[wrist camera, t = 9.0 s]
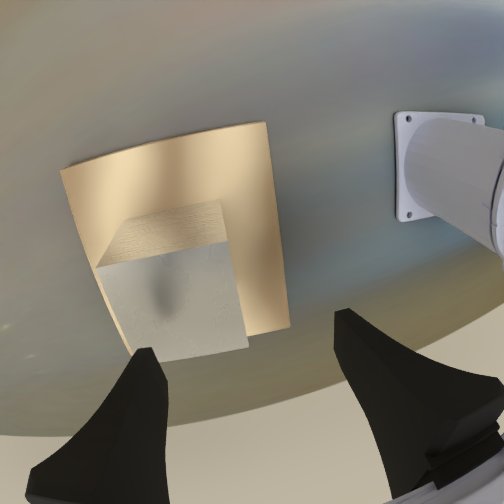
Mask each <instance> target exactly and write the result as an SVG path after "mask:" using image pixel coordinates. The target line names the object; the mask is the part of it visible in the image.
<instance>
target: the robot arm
mask: <svg viewBox="0 0 504 504" xmlns="http://www.w3.org/2000/svg"><path fill="white" fill-rule="evenodd" d="M406 116H408V121H406ZM472 119H473V122H472ZM394 122H395V139H396V170H397V201H396V218H397V220H399V221H400V222H407V221H412V220H417V219H422V218H427V217H432V216H437V217H439V218H441V219H442V220H444V221H446V222H448V223H449V224H451V225H452V226H454V227H456V228H457V229H459V230H461V231H462V232H464V233H465V234H467V235H469V236H470V237H472V238H473V239H475V240H477V241H478V242H480V243H481V244H483V245H484V246H486V247H487V248H489V249H490V250H492V251H493V252H495V253H496V254H498V255H499V256H500V257H501V258H502V262H503V270H504V130H501V129H496V128H492V127H487V126H485V120H484V117H483V116H482V115H478V114H465V113H448V112H416V111H399V112H397V113H396V114H395V116H394ZM408 212H409V215H408V216H407V213H408ZM334 351H335V354H336V357H337V359H338V362H339V364H340V367H341V370H342V372H343V373H344V375H345V377H346V379H347V381H348V383H349V385H350V386H351V388H352V390H353V392H354V394H355V396H356V398H357V399H358V401H359V403H360V405H361V407H362V409H363V411H364V413H365V415H366V417H367V419H368V421H369V425H370V427H371V430H372V432H373V435H374V438H375V441H376V443H377V446H378V449H379V452H380V455H381V458H382V462H383V465H384V468H385V472H386V475H387V479H388V482H389V487H390V490H391V495H392V499H393V500H391V501H389V502H386V503H384V504H503V503H504V433H503V434H502V435H501V436H500V435H499V433H498V430H499V428H500V426H499V424H498V423H497V421H496V420H497V419H498V417H499V416H500V415H501V413H502V412H503V410H504V385H503V384H502V383H501V382H500V380H499V379H498V378H496V377H490V376H484V375H479V374H474V373H470V372H466V371H462V370H459V369H456V368H452V367H449V366H447V365H444V364H441V363H439V362H436V361H434V360H431V359H429V358H427V357H425V356H423V355H421V354H419V353H416V352H414V351H413V350H411V349H409V348H407V347H405V346H404V345H402V344H400V343H399V342H397V341H395V340H394V339H392V338H390V337H389V336H387V335H386V334H384V333H383V332H381V331H380V330H379V329H377V328H376V327H374V326H373V325H372V324H370V323H369V322H367V321H366V320H365V319H363V318H362V317H361V316H359V315H358V314H357V313H355V312H354V311H352V310H351V309H350V308H347V309H343V310H339V311H335V318H334ZM168 404H169V402H168V381H167V379H166V377H165V375H164V373H163V371H162V368H161V366H160V364H159V362H158V360H157V358H156V355H155V353H154V351H153V349H152V347H146V348H139V349H137V350H136V352H135V353H134V355H133V356H132V358H131V360H130V361H129V363H128V364H127V366H126V368H125V369H124V371H123V373H122V374H121V376H120V377H119V379H118V381H117V382H116V384H115V385H114V387H113V389H112V390H111V392H110V393H109V394H108V396H107V397H106V399H105V400H104V402H103V403H102V404H101V406H100V407H99V408H98V410H97V411H96V412H95V413H94V415H93V416H92V417H91V418H90V419H89V421H88V422H87V423H86V424H85V425H84V426H83V427H82V428H81V429H80V430H79V431H78V432H77V433H76V434H75V435H74V436H73V437H72V438H71V439H70V440H69V441H68V442H67V443H66V444H65V445H63V446H62V447H61V448H60V449H59V450H58V451H56V452H55V453H54V454H53V455H51V456H50V457H49V458H47V459H46V460H44V461H43V462H41V463H40V464H38V465H37V466H35V467H33V468H32V469H31V471H30V475H29V479H28V484H27V488H26V493H25V497H26V499H27V501H28V502H30V503H31V504H170V502H169V494H168V486H167V477H166V463H165V446H166V431H167V418H168Z"/></svg>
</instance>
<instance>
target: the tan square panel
mask: <svg viewBox="0 0 504 504" xmlns="http://www.w3.org/2000/svg"><path fill="white" fill-rule="evenodd" d="M60 172H61V176H62V180H63V183H64V187H65V191H66V194H67V197H68V201H69V204H70V207H71V211H72V214H73V217H74V220H75V223H76V226H77V229H78V232H79V235H80V238H81V241H82V244H83V247H84V249H85V252H86V255H87V258H88V260H89V263H90V265H91V268H92V271H93V273H94V276H95V278H96V281H97V283H98V286H99V288H100V290H101V293H102V295H103V298H104V300H105V302H106V305H107V307H108V309H109V311H110V314H111V316H112V318H113V320H114V322H115V324H116V327H117V329H118V331H119V333H120V335H121V337H122V339H123V341H124V343H125V345H126V347H127V349H128V351H129V353H130V355H131V356H133V355H134V354H133V352H132V350H131V348H130V346H129V344H128V342H127V340H126V338H125V336H124V334H123V332H122V330H121V327H120V325H119V323H118V321H117V319H116V316H115V314H114V312H113V310H112V307H111V305H110V303H109V300H108V298H107V296H106V293H105V291H104V288H103V286H102V284H101V281H100V279H99V276H98V273H97V271H96V266H97V265H98V263H99V261H100V259H101V258H102V256H103V254H104V253H105V251H106V249H107V248H108V246H109V244H110V243H111V241H112V239H113V238H114V236H115V234H116V233H117V231H118V230H119V228H120V226H121V225H122V223H123V222H124V220H125V219H129V218H133V217H137V216H141V215H146V214H150V213H155V212H159V211H164V210H168V209H173V208H177V207H182V206H187V205H192V204H197V203H202V202H206V201H212V200H217V199H219V200H220V205H221V210H222V215H223V220H224V225H225V230H226V235H227V240H228V245H229V250H230V255H231V260H232V265H233V270H234V275H235V280H236V285H237V290H238V295H239V300H240V305H241V310H242V315H243V320H244V324H245V329H246V334H247V336H252V335H257V334H261V333H266V332H271V331H275V330H280V329H284V328H288V327H290V320H289V310H288V300H287V290H286V281H285V272H284V263H283V254H282V245H281V236H280V228H279V220H278V211H277V203H276V195H275V187H274V180H273V172H272V165H271V157H270V150H269V142H268V135H267V128H266V122H262V121H259V122H252V123H246V124H239V125H233V126H227V127H221V128H216V129H210V130H205V131H200V132H195V133H190V134H185V135H180V136H176V137H171V138H167V139H163V140H158V141H154V142H150V143H146V144H142V145H138V146H134V147H131V148H127V149H123V150H120V151H116V152H113V153H109V154H106V155H102V156H99V157H96V158H92V159H89V160H86V161H83V162H80V163H77V164H74V165H71V166H68V167H66V168H64V169H62V170H60Z"/></svg>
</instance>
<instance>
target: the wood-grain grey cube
mask: <svg viewBox="0 0 504 504" xmlns="http://www.w3.org/2000/svg"><path fill="white" fill-rule="evenodd" d="M96 271H97V273H98V276H99V279H100V281H101V284H102V286H103V288H104V291H105V293H106V296H107V298H108V300H109V303H110V305H111V307H112V310H113V312H114V314H115V316H116V319H117V321H118V323H119V325H120V327H121V330H122V332H123V334H124V336H125V338H126V340H127V342H128V344H129V346H130V348H131V350H132V352H133V354H134V353H135V352H136V350H137V349H139V348H146V347H152V349H153V351H154V353H155V355H156V358H157V360H158V362H166V361H173V360H179V359H186V358H192V357H198V356H204V355H209V354H215V353H221V352H226V351H231V350H236V349H241V348H246V347H249V344H248V339H247V334H246V329H245V324H244V320H243V315H242V310H241V305H240V300H239V295H238V290H237V285H236V280H235V275H234V270H233V265H232V260H231V255H230V250H229V245H228V240H227V235H226V230H225V225H224V220H223V215H222V210H221V205H220V200H219V199H217V200H212V201H206V202H202V203H197V204H192V205H187V206H182V207H177V208H173V209H168V210H164V211H159V212H155V213H150V214H146V215H141V216H137V217H133V218H129V219H125V220H124V222H123V223H122V225H121V226H120V228H119V230H118V231H117V233H116V234H115V236H114V238H113V239H112V241H111V243H110V244H109V246H108V248H107V249H106V251H105V253H104V254H103V256H102V258H101V259H100V261H99V263H98V265H97V266H96Z"/></svg>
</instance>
